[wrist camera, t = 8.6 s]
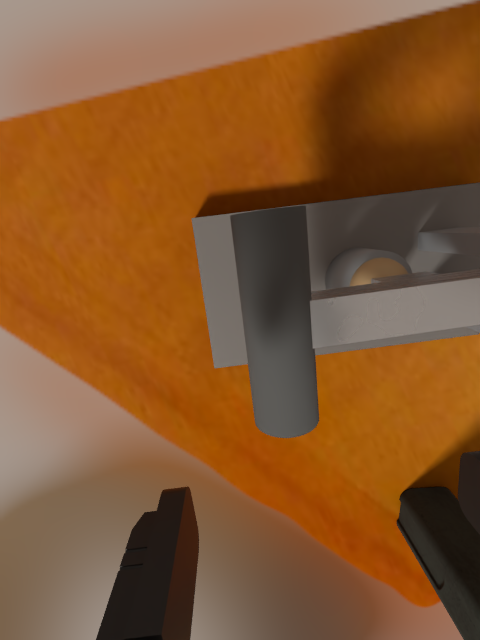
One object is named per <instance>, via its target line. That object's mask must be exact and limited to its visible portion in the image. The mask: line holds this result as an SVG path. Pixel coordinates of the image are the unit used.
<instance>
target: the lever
mask: <svg viewBox="0 0 480 640" xmlns="http://www.w3.org/2000/svg"><path fill="white" fill-rule="evenodd" d="M230 220H231V228H232V237H233V245H234V253H235V261H236V269H237V277H238V286H239V294H240V302H241V310H242V318H243V326H244V335H245V343H246V351H247V359H248V367H249V376H250V384H251V392H252V400H253V408H254V416H255V423H256V426H257V427H258V428H259V430H261V431H262V432H264V433H265V434H268V435H270V436H274V437H280V438H291V437H297V436H301V435H304V434H306V433H308V432H310V431H312V430H313V429H314V428H315V427H316V426H317V424H318V421H319V411H318V395H317V379H316V362H315V348H320V347H327V346H334V345H341V344H348V343H355V342H362V341H369V340H376V339H383V338H390V337H397V336H404V335H411V334H418V333H424V332H431V331H438V330H445V329H452V328H459V327H466V326H473V325H480V269H475V270H468V271H461V272H453V273H446V274H438V273H432V272H427V271H425V272H417V273H410V274H402V275H395V276H387V277H380V278H373V279H371V284H365V285H357V286H350V287H342V288H335V289H328V290H320V291H313V292H311V280H310V264H309V247H308V231H307V214H306V206H292V207H283V208H274V209H266V210H259V211H252V212H245V213H240V214H234V215H231V216H230Z"/></svg>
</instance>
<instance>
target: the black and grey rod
mask: <svg viewBox="0 0 480 640" xmlns="http://www.w3.org/2000/svg"><path fill="white" fill-rule="evenodd" d="M400 501H401V507H400V514H399V520H397V526H398V528H399V529H400V531H401V533H402V535H403V536H404V538H405V540H406V541H407V543H408V545H409V546H410V548H411V550H412V552H413V553H414V555H415V557H416V558H417V560H418V562H419V564H420V565H421V567H422V569H423V570H424V572H425V574H426V576H427V577H428V579H429V581H430V582H431V584H432V586H433V588H434V589H435V591H436V593H437V594H438V596H439V598H440V600H441V601H442V603H443V604H444V606H445V608H446V610H447V612H448V613H449V615H450V617H451V618H452V620H453V622H454V624H455V625H456V627H457V629H458V630H459V632H460V634H461V636H462V637H463V639H464V640H480V534H479V533H478V532H477V531H476V530H475V528H474V527H473V526H472V525H471V523H470V522H469V521H468V520H467V518H466V517H465V515H464V513H463V511H462V509H461V507H460V504H459V501H458V499H457V498H456V497H455V496H454V495H453V494H452V493H451V491H450V490H449V489H447V488H445V487H428V488H412V489H408V490H406V491H405V492H403V493H402V495H401V496H400Z"/></svg>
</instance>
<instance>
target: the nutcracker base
mask: <svg viewBox="0 0 480 640" xmlns="http://www.w3.org/2000/svg"><path fill="white" fill-rule="evenodd" d="M295 206H306V214H307V231H308V247H309V264H310V280H311V292H313V291H320V290H328V289H335V288H342V287H350V286H357V285H365V284H371V279H373V278H380V277H387V276H395V275H402V274H410V273H417V272H425V271H427V272H432V273H438V274H446V273H453V272H461V271H468V270H475V269H480V183H472V184H464V185H456V186H448V187H440V188H432V189H424V190H416V191H408V192H400V193H391V194H383V195H375V196H367V197H359V198H351V199H343V200H335V201H327V202H319V203H311V204H303V205H295ZM287 207H292V206H287ZM279 208H283V207H279ZM271 209H274V208H271ZM263 210H266V209H263ZM254 211H259V210H254ZM246 212H252V211H246ZM240 213H245V212H238V213H230V214H222V215H214V216H206V217H198V218H192V224H193V231H194V237H195V244H196V250H197V257H198V263H199V270H200V276H201V283H202V289H203V296H204V302H205V309H206V315H207V322H208V328H209V335H210V341H211V348H212V355H213V361H214V368H221V367H228V366H236V365H244V364H248V359H247V351H246V343H245V335H244V326H243V318H242V310H241V302H240V294H239V286H238V277H237V269H236V261H235V253H234V245H233V237H232V228H231V220H230V216H231V215H234V214H240ZM479 333H480V325H473V326H466V327H459V328H452V329H445V330H438V331H431V332H424V333H418V334H411V335H404V336H397V337H390V338H383V339H376V340H369V341H362V342H355V343H348V344H341V345H334V346H327V347H320V348H315V355H321V354H329V353H337V352H345V351H352V350H360V349H368V348H376V347H383V346H391V345H399V344H407V343H414V342H422V341H430V340H438V339H445V338H453V337H461V336H469V335H476V334H479Z"/></svg>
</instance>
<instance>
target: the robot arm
mask: <svg viewBox="0 0 480 640" xmlns="http://www.w3.org/2000/svg"><path fill="white" fill-rule="evenodd" d="M458 500H459V504H460V507H461V509H462V511H463V513H464V515H465V517H466V518H467V520H468V521H469V522H470V523H471V525H472V526H473V527H474V528H475V530H476V531H477V532H478V533H479V534H480V451H475V452H467V453H463V454H462V455H461V458H460V471H459V485H458ZM198 553H199V534H198V526H197V521H196V516H195V511H194V506H193V501H192V496H191V492H190V488H189V487H181V488H174V489H166V490H163V491H162V494H161V497H160V500H159V504H158V508H157V511H152V512H145V513H144V514H143V515H142V517H141V518H140V519H139V521H138V522H137V524H136V525H135V526H134V528H133V529H132V531H131V534H130V537H129V540H128V543H127V547H126V552H125V554H124V556H123V559H122V562H121V565H120V571H118V574H117V577H116V580H115V583H114V586H113V590H112V592H111V595H110V598H109V601H108V604H107V608H106V611H105V614H104V617H103V620H102V623H101V626H100V629H99V632H98V635H97V638H96V640H190V635H191V625H192V615H193V604H194V594H195V583H196V573H197V563H198Z"/></svg>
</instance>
